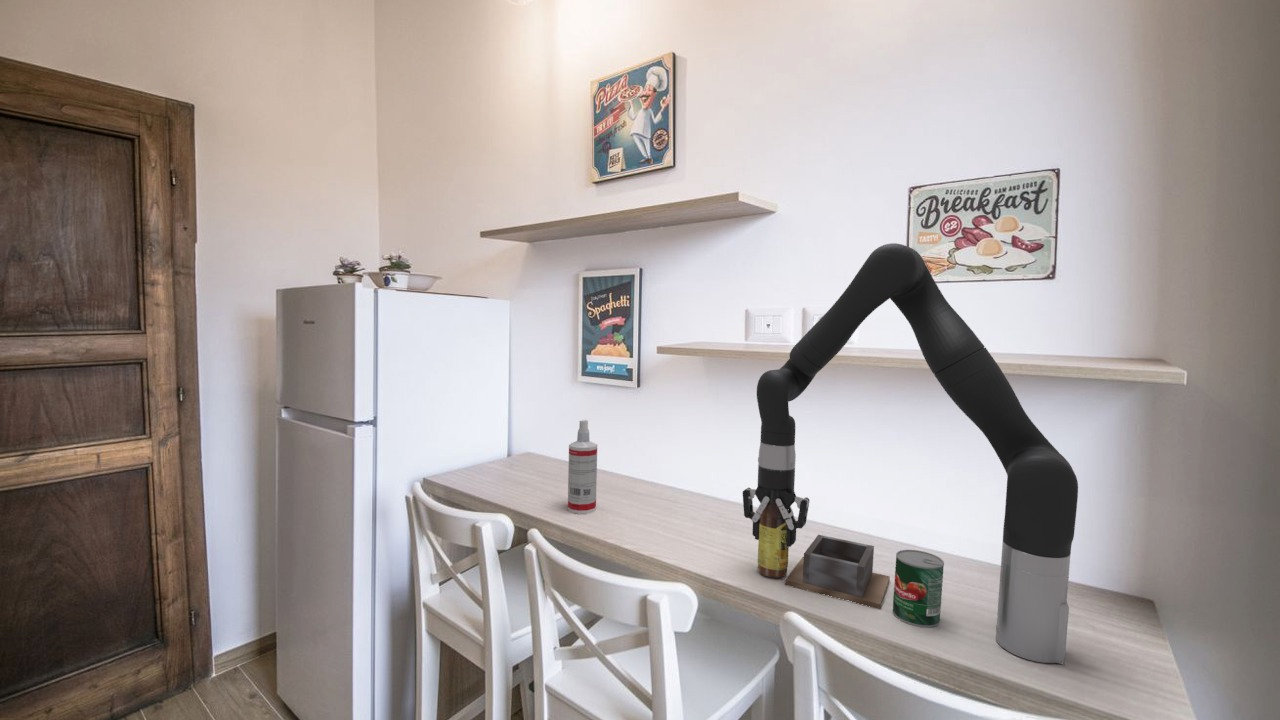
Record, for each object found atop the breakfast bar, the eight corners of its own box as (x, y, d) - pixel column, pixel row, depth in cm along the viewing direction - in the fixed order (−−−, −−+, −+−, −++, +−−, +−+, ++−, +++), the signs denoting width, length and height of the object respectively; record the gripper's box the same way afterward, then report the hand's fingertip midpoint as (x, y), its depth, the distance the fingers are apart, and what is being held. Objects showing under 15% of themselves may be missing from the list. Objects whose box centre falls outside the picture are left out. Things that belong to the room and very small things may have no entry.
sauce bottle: (785, 581, 117) (789, 486, 116) (755, 576, 119) (758, 482, 118) (789, 568, 123) (793, 478, 122) (759, 563, 125) (763, 475, 124)
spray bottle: (592, 514, 154) (594, 423, 153) (565, 513, 155) (567, 422, 153) (597, 505, 162) (599, 418, 160) (571, 504, 163) (573, 417, 161)
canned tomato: (886, 617, 104) (890, 558, 103) (899, 601, 110) (902, 545, 110) (934, 632, 99) (938, 571, 98) (944, 615, 105) (948, 557, 104)
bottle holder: (889, 581, 119) (891, 548, 118) (880, 609, 107) (882, 573, 106) (802, 560, 128) (804, 530, 127) (784, 584, 116) (786, 551, 115)
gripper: (815, 465, 119) (812, 543, 120) (749, 455, 127) (747, 529, 128) (806, 473, 113) (803, 555, 114) (737, 462, 120) (734, 540, 121)
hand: (773, 541), depth 121 cm, fingers closed on sauce bottle, 6 cm apart
